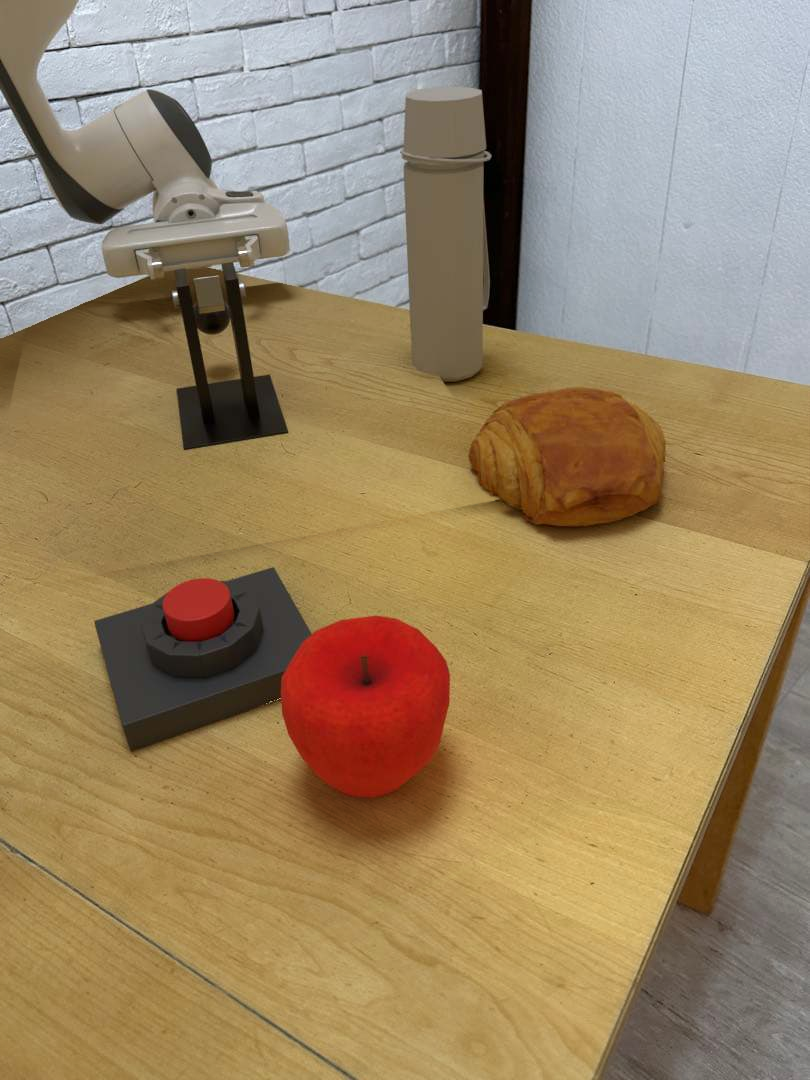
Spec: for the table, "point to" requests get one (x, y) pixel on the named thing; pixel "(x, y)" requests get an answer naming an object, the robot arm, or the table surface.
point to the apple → (366, 703)
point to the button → (198, 610)
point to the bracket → (226, 404)
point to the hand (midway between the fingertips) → (201, 265)
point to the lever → (210, 305)
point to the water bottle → (446, 229)
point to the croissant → (571, 457)
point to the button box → (200, 661)
